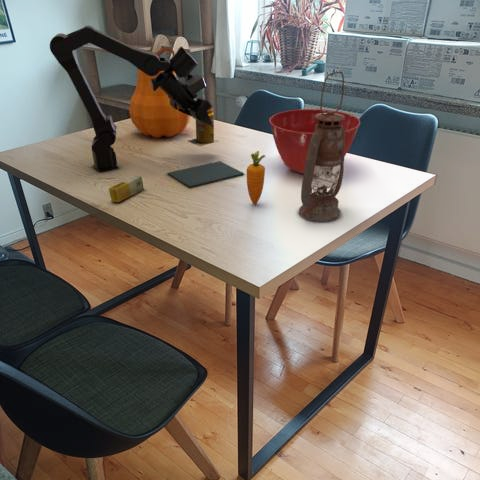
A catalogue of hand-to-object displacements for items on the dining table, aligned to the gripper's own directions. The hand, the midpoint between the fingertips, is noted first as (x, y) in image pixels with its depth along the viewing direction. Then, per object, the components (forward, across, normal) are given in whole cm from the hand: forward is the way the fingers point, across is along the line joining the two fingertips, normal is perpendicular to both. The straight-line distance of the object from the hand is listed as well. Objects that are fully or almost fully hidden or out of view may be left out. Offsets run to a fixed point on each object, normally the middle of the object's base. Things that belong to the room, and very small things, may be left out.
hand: (206, 121), depth 163 cm
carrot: (+2, -42, +15) cm, 45 cm away
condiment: (+4, 0, +6) cm, 7 cm away
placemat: (+2, -14, +15) cm, 21 cm away
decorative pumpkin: (+8, +35, +9) cm, 37 cm away
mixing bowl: (+25, -27, -8) cm, 38 cm away
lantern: (+11, -57, +6) cm, 58 cm away
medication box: (-17, -18, +35) cm, 42 cm away
